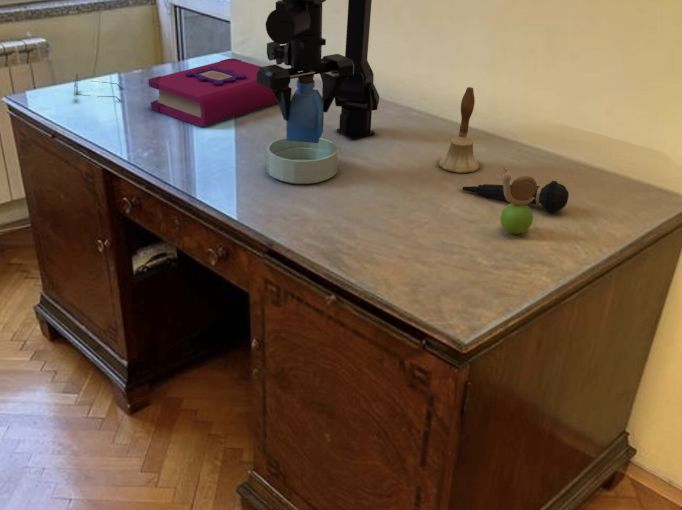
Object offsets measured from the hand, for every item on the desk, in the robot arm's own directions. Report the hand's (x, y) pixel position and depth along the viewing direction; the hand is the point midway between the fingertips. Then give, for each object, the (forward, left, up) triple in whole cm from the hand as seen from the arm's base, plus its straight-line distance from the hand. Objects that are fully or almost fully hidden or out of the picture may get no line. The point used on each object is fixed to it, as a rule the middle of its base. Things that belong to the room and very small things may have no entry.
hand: (305, 116), depth 151 cm
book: (-5, -47, -12) cm, 49 cm away
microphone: (-26, +33, -12) cm, 44 cm away
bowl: (+1, 0, -12) cm, 12 cm away
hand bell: (-29, +14, -12) cm, 34 cm away
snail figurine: (-16, +42, -12) cm, 47 cm away
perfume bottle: (0, 0, -4) cm, 4 cm away
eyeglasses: (+18, -70, -12) cm, 73 cm away
